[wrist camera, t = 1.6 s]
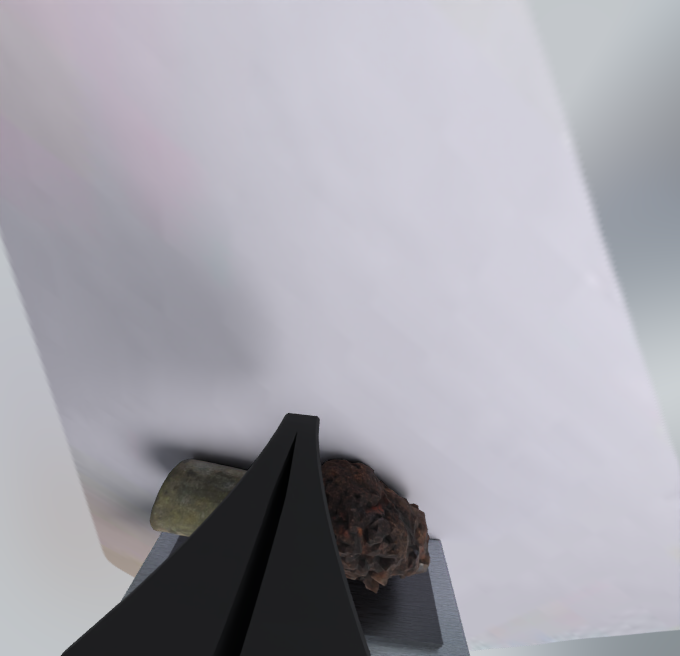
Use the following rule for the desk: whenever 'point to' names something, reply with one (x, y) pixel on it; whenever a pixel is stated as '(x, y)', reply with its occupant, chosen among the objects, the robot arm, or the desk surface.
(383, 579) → the corroded crusty cylinder
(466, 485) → the desk surface
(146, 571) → the grey metal tray
